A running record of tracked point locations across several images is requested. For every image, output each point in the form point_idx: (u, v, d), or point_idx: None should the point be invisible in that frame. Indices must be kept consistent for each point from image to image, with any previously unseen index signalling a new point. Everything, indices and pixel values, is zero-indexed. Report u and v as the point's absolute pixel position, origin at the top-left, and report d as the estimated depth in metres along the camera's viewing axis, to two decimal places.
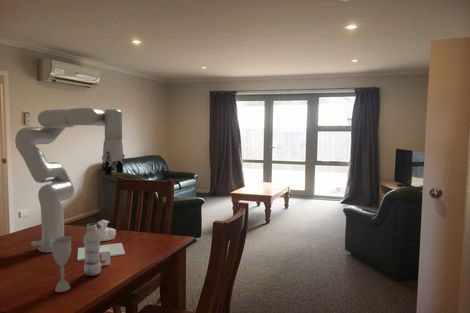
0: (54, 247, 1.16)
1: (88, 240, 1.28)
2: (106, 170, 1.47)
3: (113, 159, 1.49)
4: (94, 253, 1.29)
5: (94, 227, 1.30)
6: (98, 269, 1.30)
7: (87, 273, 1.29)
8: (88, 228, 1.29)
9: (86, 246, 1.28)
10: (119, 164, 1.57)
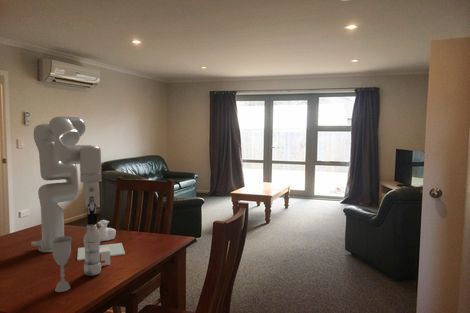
0: (54, 247, 1.16)
1: (88, 240, 1.28)
2: None
3: None
4: (94, 253, 1.29)
5: (94, 227, 1.30)
6: (98, 269, 1.30)
7: (87, 273, 1.29)
8: (88, 228, 1.29)
9: (86, 246, 1.28)
10: None
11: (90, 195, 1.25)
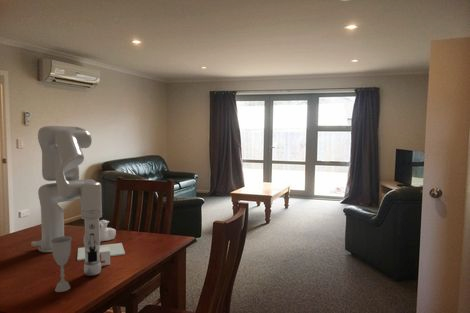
0: (54, 247, 1.16)
1: None
2: None
3: None
4: None
5: None
6: (98, 269, 1.30)
7: (87, 273, 1.29)
8: None
9: (86, 246, 1.28)
10: None
11: (90, 232, 1.26)
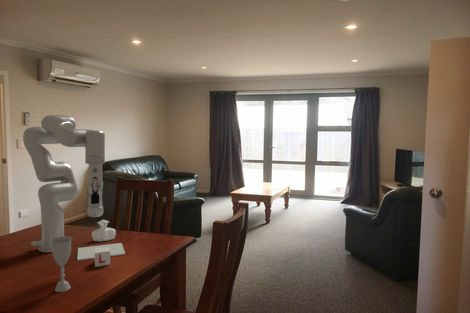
0: (54, 247, 1.16)
1: None
2: None
3: None
4: None
5: None
6: (100, 211, 1.40)
7: (90, 214, 1.39)
8: None
9: (89, 189, 1.38)
10: None
11: (93, 175, 1.36)
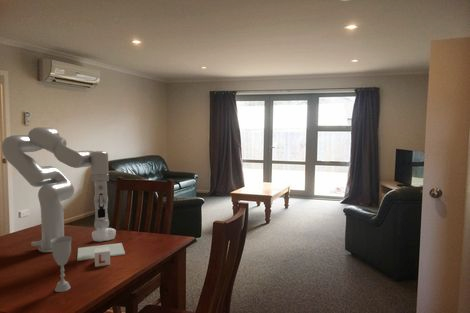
0: (54, 247, 1.16)
1: None
2: None
3: None
4: None
5: None
6: (106, 224, 1.55)
7: (97, 227, 1.53)
8: None
9: (96, 204, 1.53)
10: None
11: (99, 192, 1.50)
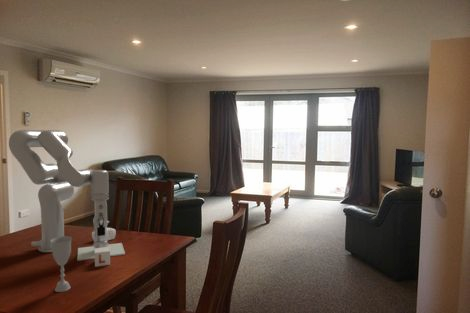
0: (54, 247, 1.16)
1: None
2: None
3: None
4: None
5: None
6: (105, 246, 1.56)
7: None
8: None
9: (95, 226, 1.54)
10: None
11: (99, 211, 1.51)
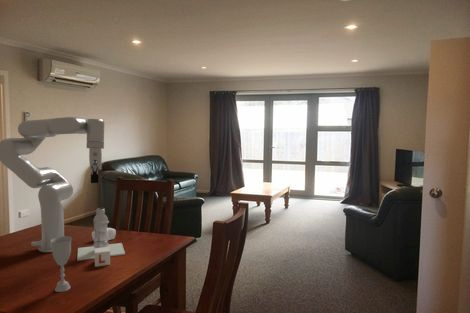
0: (54, 247, 1.16)
1: (97, 221, 1.53)
2: None
3: None
4: (103, 232, 1.55)
5: (102, 210, 1.55)
6: (106, 246, 1.56)
7: None
8: (97, 211, 1.54)
9: (96, 226, 1.54)
10: None
11: (94, 159, 1.52)
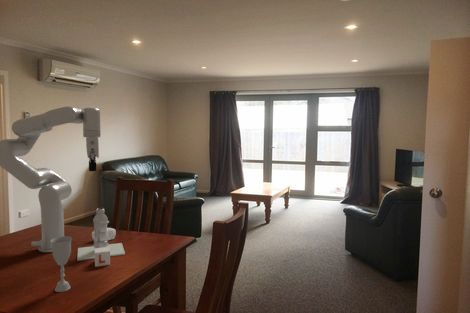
0: (54, 247, 1.16)
1: (97, 221, 1.53)
2: None
3: None
4: (102, 232, 1.55)
5: (102, 210, 1.55)
6: (105, 246, 1.56)
7: None
8: (97, 211, 1.54)
9: (96, 226, 1.54)
10: None
11: (91, 147, 1.53)
